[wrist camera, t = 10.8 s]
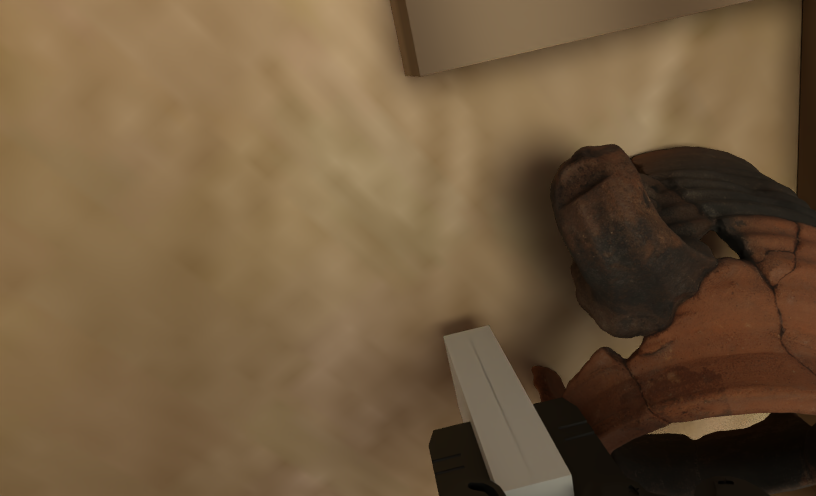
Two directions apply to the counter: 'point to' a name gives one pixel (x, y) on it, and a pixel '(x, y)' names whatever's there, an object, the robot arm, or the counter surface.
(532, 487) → the robot arm
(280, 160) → the counter surface
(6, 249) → the counter surface
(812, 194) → the walnut pocket
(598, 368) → the brown broken pot
